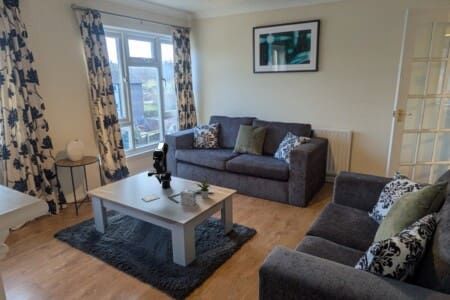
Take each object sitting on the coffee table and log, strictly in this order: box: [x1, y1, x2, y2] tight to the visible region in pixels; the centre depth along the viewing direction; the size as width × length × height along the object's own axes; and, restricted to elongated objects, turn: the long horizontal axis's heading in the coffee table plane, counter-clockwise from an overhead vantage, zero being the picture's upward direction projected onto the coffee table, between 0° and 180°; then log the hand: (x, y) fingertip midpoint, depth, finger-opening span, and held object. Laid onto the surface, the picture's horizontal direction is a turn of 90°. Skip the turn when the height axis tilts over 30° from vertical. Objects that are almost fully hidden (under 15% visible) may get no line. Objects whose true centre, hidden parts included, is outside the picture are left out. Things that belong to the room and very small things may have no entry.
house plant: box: [195, 177, 213, 199], centre depth 244 cm, size 14×14×16 cm
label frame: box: [167, 193, 181, 204], centre depth 242 cm, size 13×15×1 cm
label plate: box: [141, 193, 161, 203], centre depth 243 cm, size 12×9×1 cm
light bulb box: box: [179, 188, 197, 206], centre depth 231 cm, size 11×7×11 cm, turn 75°
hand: (160, 183), depth 239 cm, fingers closed
